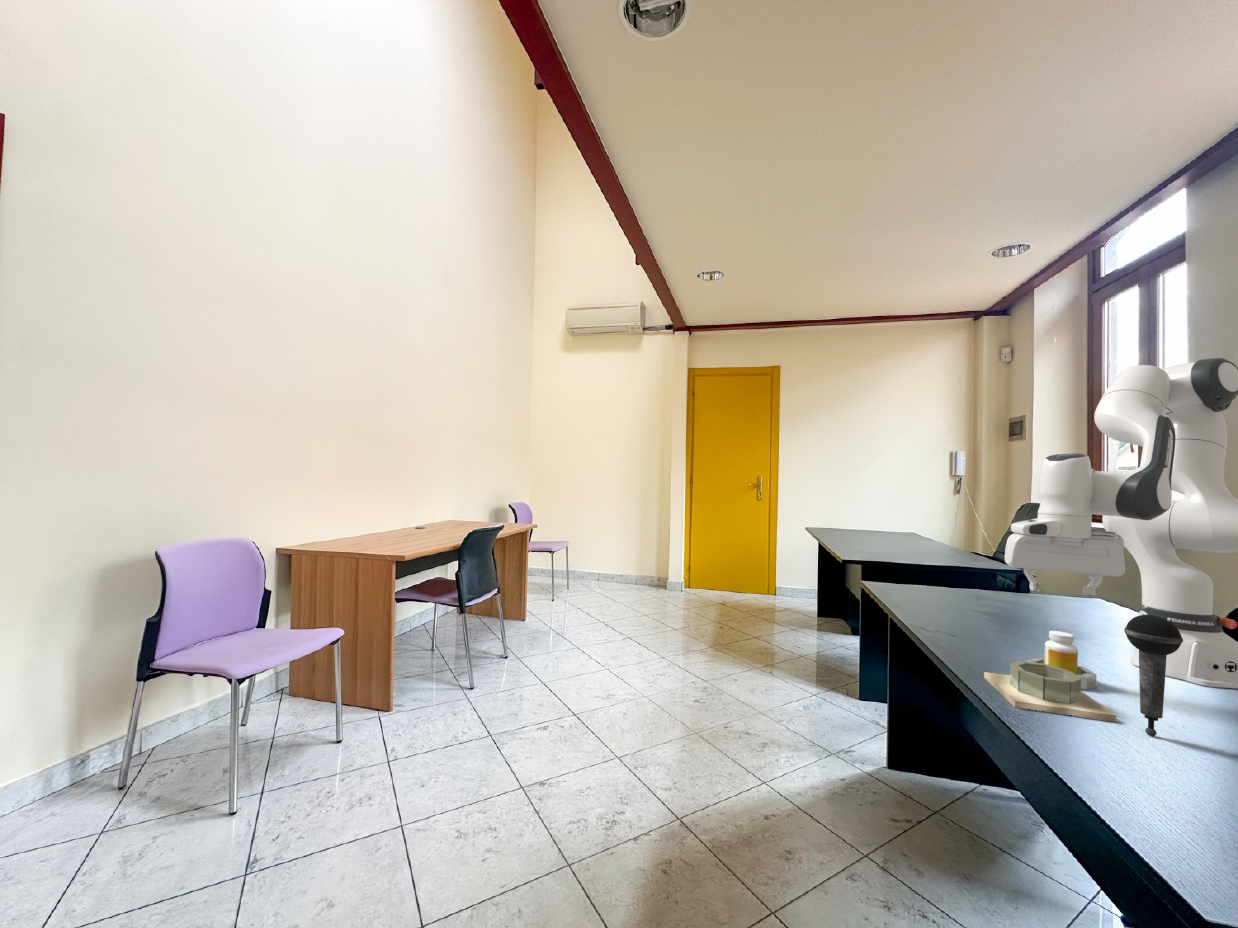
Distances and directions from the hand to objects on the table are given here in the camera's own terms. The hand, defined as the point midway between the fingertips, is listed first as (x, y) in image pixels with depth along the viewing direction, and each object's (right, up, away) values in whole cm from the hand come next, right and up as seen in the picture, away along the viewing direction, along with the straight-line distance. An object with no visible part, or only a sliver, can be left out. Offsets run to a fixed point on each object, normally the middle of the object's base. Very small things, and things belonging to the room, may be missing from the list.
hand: (1061, 592), depth 110 cm
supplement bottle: (0, -19, 0) cm, 19 cm away
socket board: (-13, -18, -11) cm, 24 cm away
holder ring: (0, -18, 0) cm, 18 cm away
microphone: (-6, -18, -24) cm, 31 cm away
